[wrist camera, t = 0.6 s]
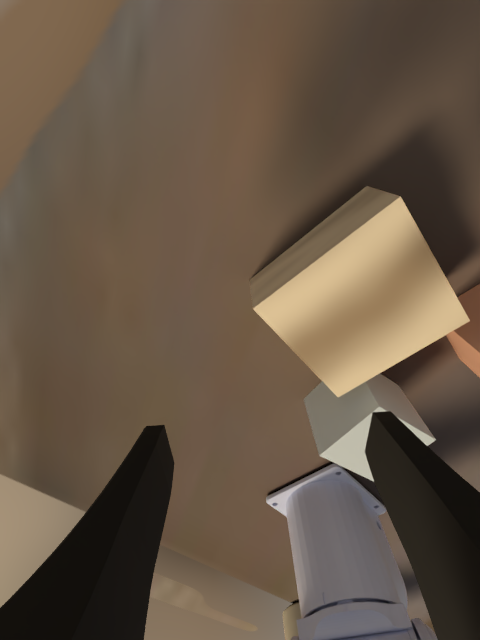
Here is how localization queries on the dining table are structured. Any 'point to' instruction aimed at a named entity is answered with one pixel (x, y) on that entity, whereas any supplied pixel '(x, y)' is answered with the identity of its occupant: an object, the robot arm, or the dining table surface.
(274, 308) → the maple block
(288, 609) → the travel mug
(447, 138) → the dining table surface
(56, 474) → the dining table surface
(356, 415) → the off-white cube
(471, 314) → the terracotta cube
